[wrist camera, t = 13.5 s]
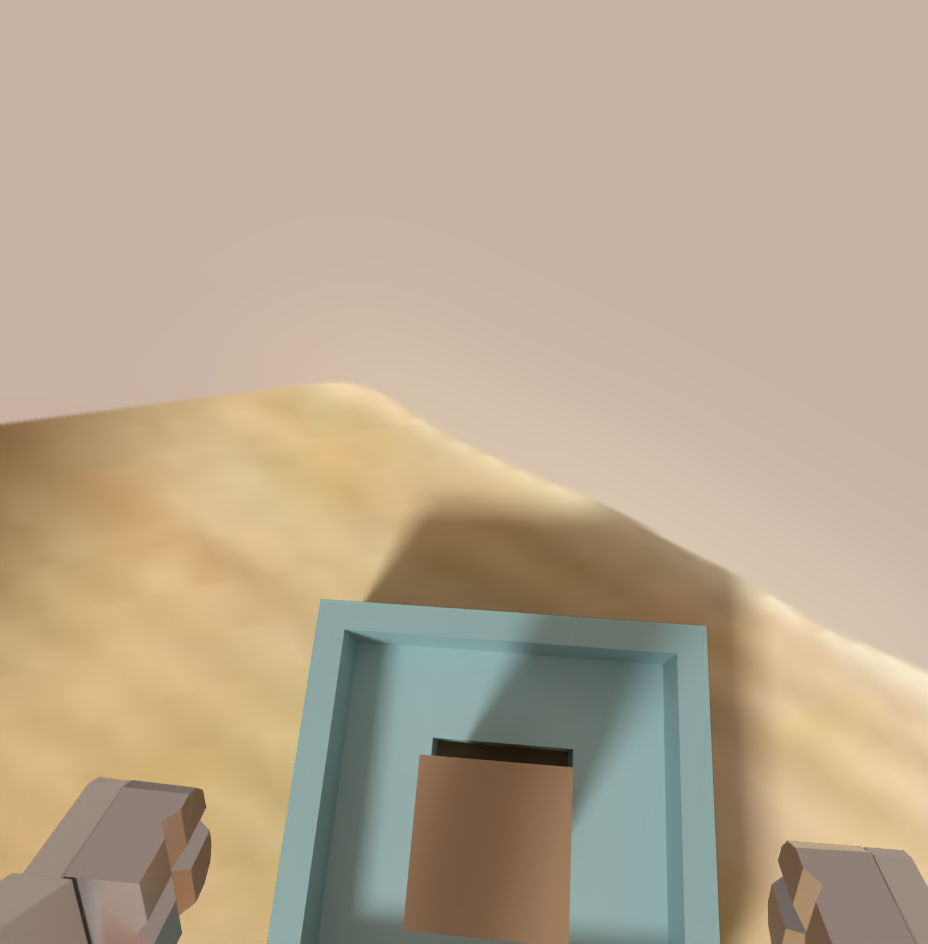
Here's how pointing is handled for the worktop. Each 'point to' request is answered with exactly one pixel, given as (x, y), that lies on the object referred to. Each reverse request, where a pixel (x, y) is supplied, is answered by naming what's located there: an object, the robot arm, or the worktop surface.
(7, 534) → the worktop surface
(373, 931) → the socket
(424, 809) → the peg
